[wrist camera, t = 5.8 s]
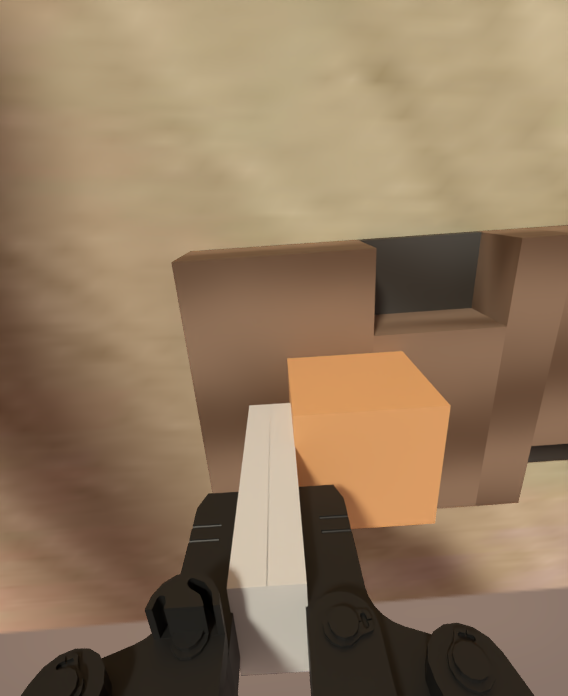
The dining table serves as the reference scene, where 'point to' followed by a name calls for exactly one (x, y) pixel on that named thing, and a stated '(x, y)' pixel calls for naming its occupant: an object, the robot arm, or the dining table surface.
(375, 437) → the block
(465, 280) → the board
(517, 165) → the dining table surface
